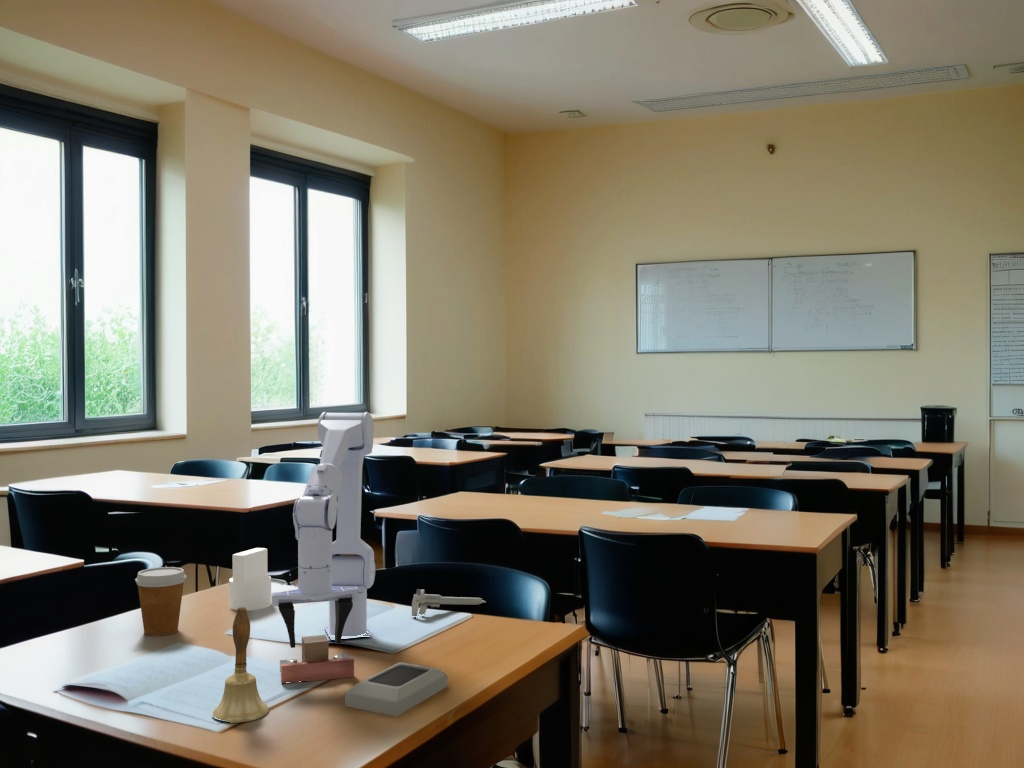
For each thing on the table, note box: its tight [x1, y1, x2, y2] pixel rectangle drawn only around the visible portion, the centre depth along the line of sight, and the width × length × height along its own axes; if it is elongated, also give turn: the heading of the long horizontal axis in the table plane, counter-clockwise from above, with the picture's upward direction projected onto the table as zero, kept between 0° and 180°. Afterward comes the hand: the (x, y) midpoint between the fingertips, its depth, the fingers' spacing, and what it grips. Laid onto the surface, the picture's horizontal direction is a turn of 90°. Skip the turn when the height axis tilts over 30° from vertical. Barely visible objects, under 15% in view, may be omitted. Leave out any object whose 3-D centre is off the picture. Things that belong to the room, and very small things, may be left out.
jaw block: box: [301, 634, 330, 662], centre depth 159 cm, size 4×4×6 cm
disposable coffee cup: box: [134, 566, 187, 637], centre depth 184 cm, size 10×10×12 cm
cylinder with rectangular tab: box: [228, 547, 272, 612], centre depth 205 cm, size 9×9×12 cm
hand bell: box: [212, 607, 270, 724], centre depth 140 cm, size 8×8×16 cm
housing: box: [279, 653, 355, 684], centre depth 158 cm, size 7×12×3 cm, turn 109°
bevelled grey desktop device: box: [344, 661, 449, 717], centre depth 148 cm, size 10×4×15 cm
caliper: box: [411, 588, 487, 617], centre depth 201 cm, size 20×1×6 cm, turn 135°
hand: (315, 644), depth 159 cm, fingers open, 7 cm apart
